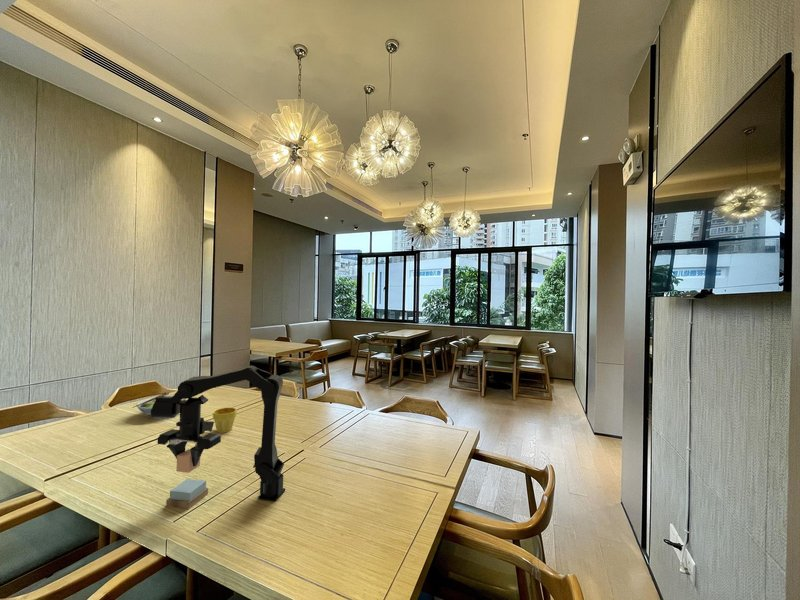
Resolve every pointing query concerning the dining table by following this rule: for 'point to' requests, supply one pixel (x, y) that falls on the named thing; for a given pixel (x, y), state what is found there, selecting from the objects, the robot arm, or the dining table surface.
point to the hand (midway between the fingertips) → (188, 465)
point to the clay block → (185, 462)
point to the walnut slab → (184, 503)
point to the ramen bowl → (149, 404)
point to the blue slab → (188, 489)
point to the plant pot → (224, 419)
